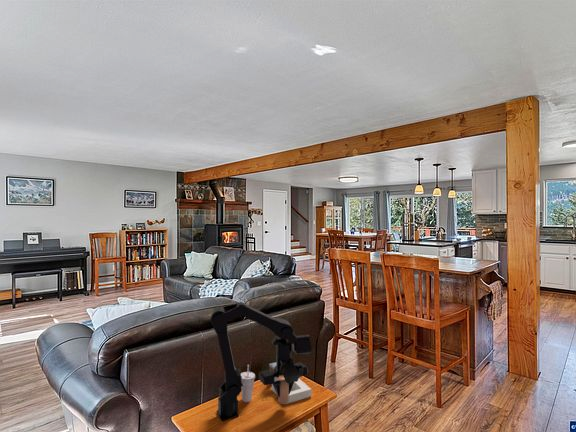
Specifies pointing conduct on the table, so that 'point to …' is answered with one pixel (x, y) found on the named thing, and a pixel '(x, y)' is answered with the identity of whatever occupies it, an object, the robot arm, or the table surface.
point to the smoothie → (247, 385)
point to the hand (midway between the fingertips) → (283, 395)
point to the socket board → (297, 391)
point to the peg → (283, 391)
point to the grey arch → (272, 367)
